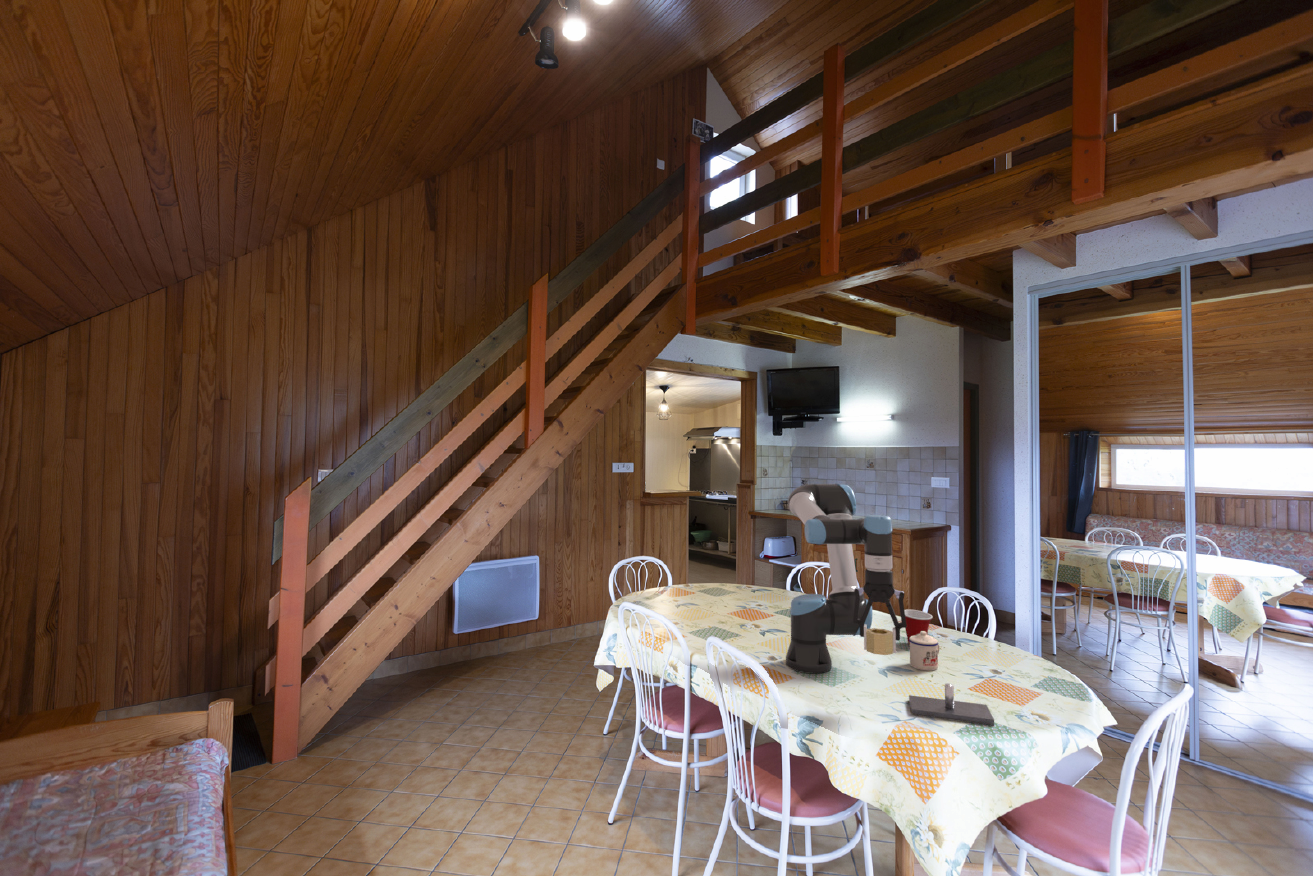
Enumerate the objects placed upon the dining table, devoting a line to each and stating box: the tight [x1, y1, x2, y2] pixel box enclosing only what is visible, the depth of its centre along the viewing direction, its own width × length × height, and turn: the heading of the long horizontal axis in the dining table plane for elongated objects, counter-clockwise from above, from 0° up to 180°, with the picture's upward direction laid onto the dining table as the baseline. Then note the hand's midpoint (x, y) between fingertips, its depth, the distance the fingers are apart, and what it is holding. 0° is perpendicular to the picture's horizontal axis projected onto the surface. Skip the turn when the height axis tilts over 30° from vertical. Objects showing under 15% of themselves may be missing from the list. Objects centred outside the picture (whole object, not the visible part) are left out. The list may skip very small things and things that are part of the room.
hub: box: [866, 627, 894, 656], centre depth 169 cm, size 7×7×6 cm
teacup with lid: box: [909, 631, 940, 672], centre depth 200 cm, size 12×9×12 cm
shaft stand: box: [908, 683, 995, 726], centre depth 164 cm, size 20×10×8 cm, turn 71°
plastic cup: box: [904, 609, 934, 646], centre depth 222 cm, size 11×11×12 cm
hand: (879, 649), depth 169 cm, fingers closed on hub, 7 cm apart
